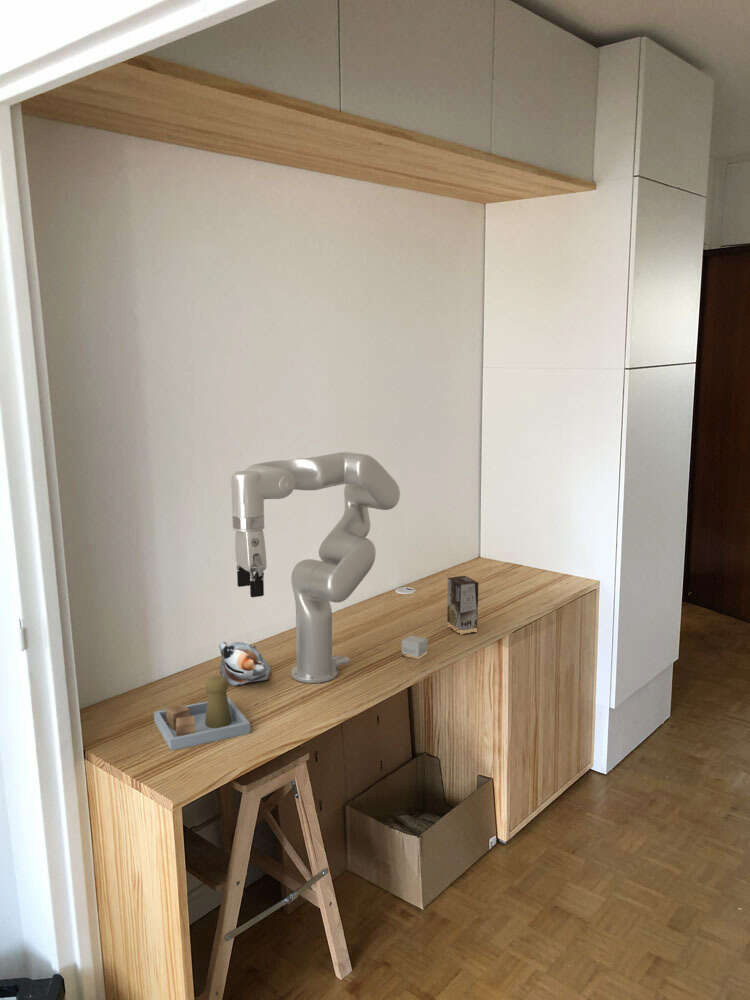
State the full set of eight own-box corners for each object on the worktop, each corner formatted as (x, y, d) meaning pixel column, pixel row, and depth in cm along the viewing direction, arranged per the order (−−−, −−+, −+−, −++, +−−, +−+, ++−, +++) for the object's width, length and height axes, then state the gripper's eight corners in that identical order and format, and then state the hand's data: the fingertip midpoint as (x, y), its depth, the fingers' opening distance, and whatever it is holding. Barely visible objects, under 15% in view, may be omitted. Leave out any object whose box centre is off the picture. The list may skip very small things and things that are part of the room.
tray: (228, 708, 202) (228, 696, 202) (250, 735, 188) (249, 723, 188) (154, 723, 194) (153, 711, 194) (171, 753, 180) (170, 740, 180)
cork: (219, 714, 198) (218, 670, 196) (236, 721, 194) (235, 677, 192) (199, 723, 193) (197, 678, 191) (216, 730, 189) (215, 685, 187)
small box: (428, 654, 238) (428, 638, 237) (418, 660, 233) (418, 644, 232) (411, 650, 241) (411, 634, 240) (400, 656, 236) (400, 640, 235)
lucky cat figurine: (281, 674, 223) (280, 640, 214) (254, 705, 215) (251, 671, 206) (237, 650, 229) (234, 616, 220) (209, 679, 220) (204, 645, 212)
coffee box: (478, 633, 255) (479, 582, 252) (459, 635, 253) (460, 584, 250) (464, 623, 264) (465, 574, 261) (446, 626, 261) (447, 576, 258)
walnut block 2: (195, 732, 188) (194, 716, 188) (195, 740, 185) (194, 724, 184) (177, 734, 188) (176, 717, 187) (176, 742, 184) (176, 725, 183)
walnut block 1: (182, 719, 195) (182, 703, 194) (190, 725, 192) (189, 709, 191) (166, 724, 193) (165, 708, 192) (173, 730, 189) (173, 714, 189)
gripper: (275, 527, 193) (277, 598, 196) (251, 514, 208) (253, 580, 211) (245, 531, 190) (247, 603, 193) (222, 517, 205) (224, 584, 208)
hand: (250, 591), depth 202 cm, fingers open, 9 cm apart
